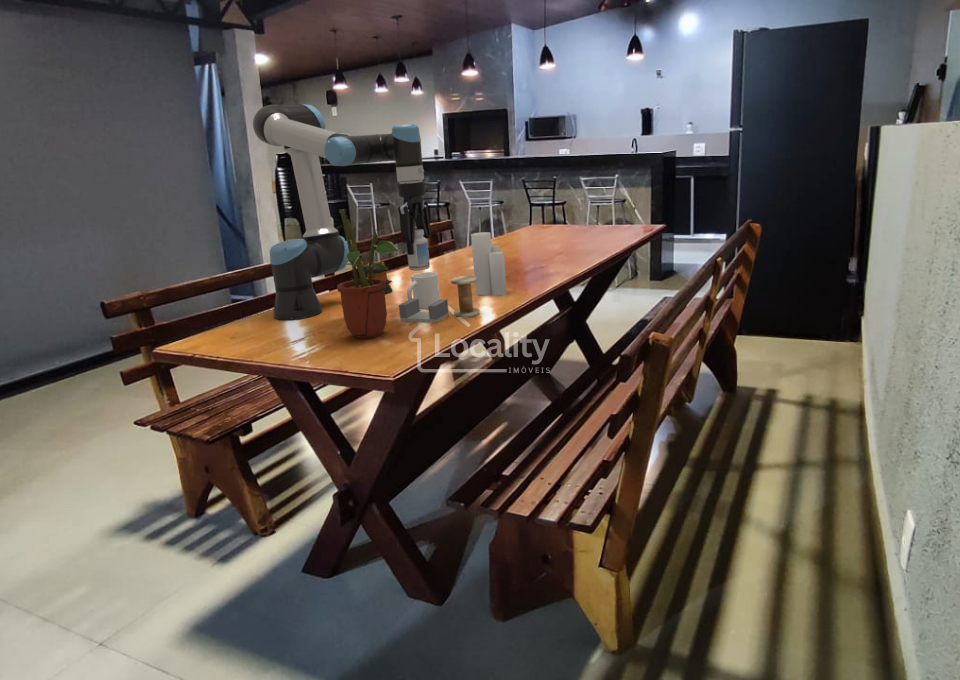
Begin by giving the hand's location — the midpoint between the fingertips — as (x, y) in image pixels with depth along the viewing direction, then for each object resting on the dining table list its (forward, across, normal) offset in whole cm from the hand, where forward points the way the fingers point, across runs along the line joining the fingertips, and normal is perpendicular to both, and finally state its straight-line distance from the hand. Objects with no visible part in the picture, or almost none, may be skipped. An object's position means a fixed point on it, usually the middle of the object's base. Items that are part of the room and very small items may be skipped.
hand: (419, 263), depth 195 cm
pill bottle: (+2, 0, 0) cm, 2 cm away
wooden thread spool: (+17, +6, -11) cm, 21 cm away
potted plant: (+17, -17, +7) cm, 25 cm away
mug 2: (+17, +30, +36) cm, 50 cm away
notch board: (+17, 0, 0) cm, 17 cm away
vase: (+17, +33, -8) cm, 38 cm away
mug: (+17, +12, +7) cm, 22 cm away
